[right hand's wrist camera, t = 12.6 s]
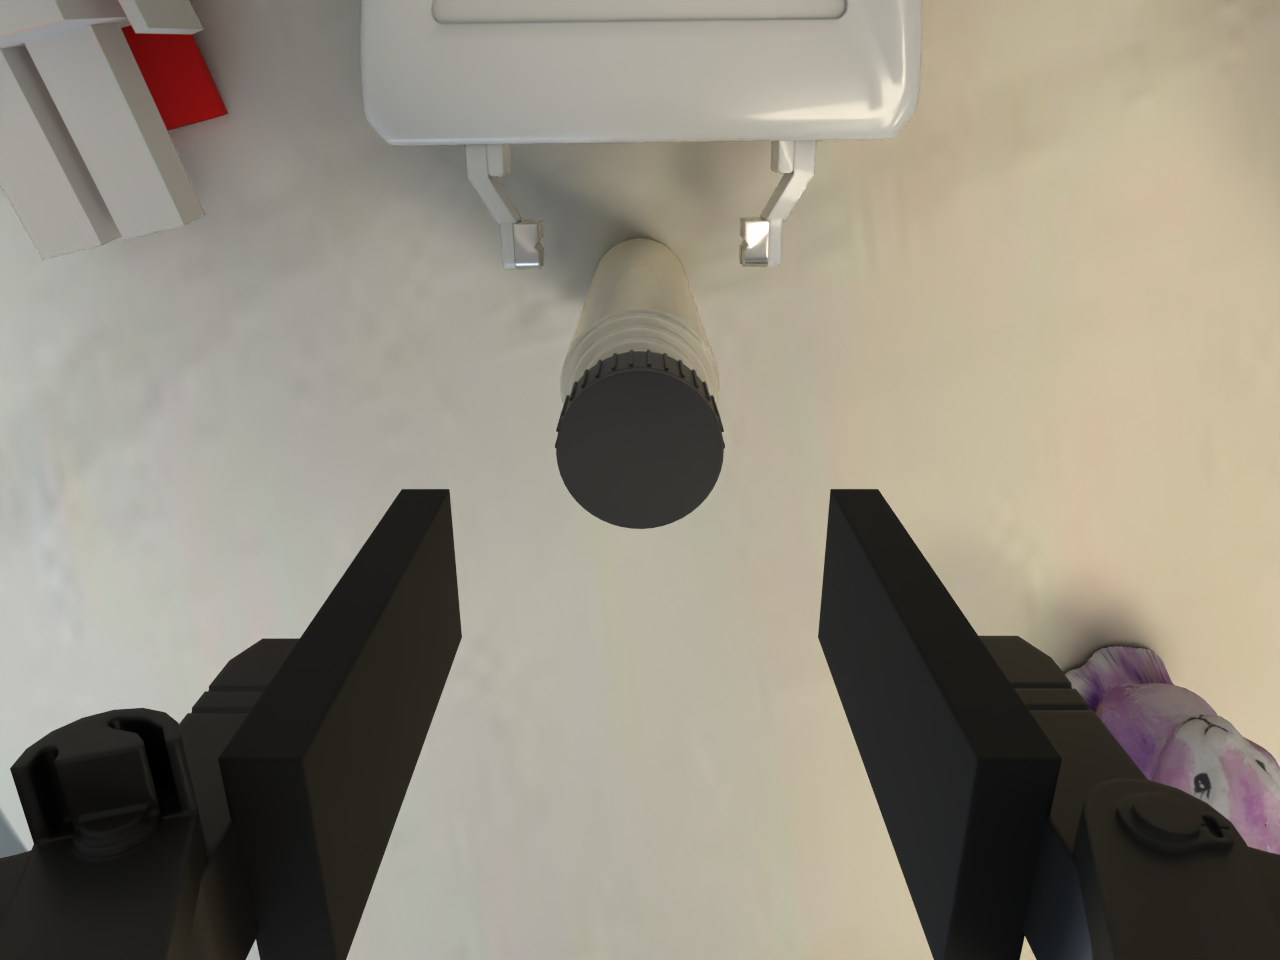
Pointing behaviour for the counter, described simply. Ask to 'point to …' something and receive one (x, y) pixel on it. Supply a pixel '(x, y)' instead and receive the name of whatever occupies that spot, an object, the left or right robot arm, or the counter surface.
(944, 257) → the counter surface
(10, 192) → the toy
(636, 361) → the cap
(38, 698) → the counter surface
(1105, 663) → the figurine
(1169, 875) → the right robot arm
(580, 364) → the bottle
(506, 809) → the counter surface
